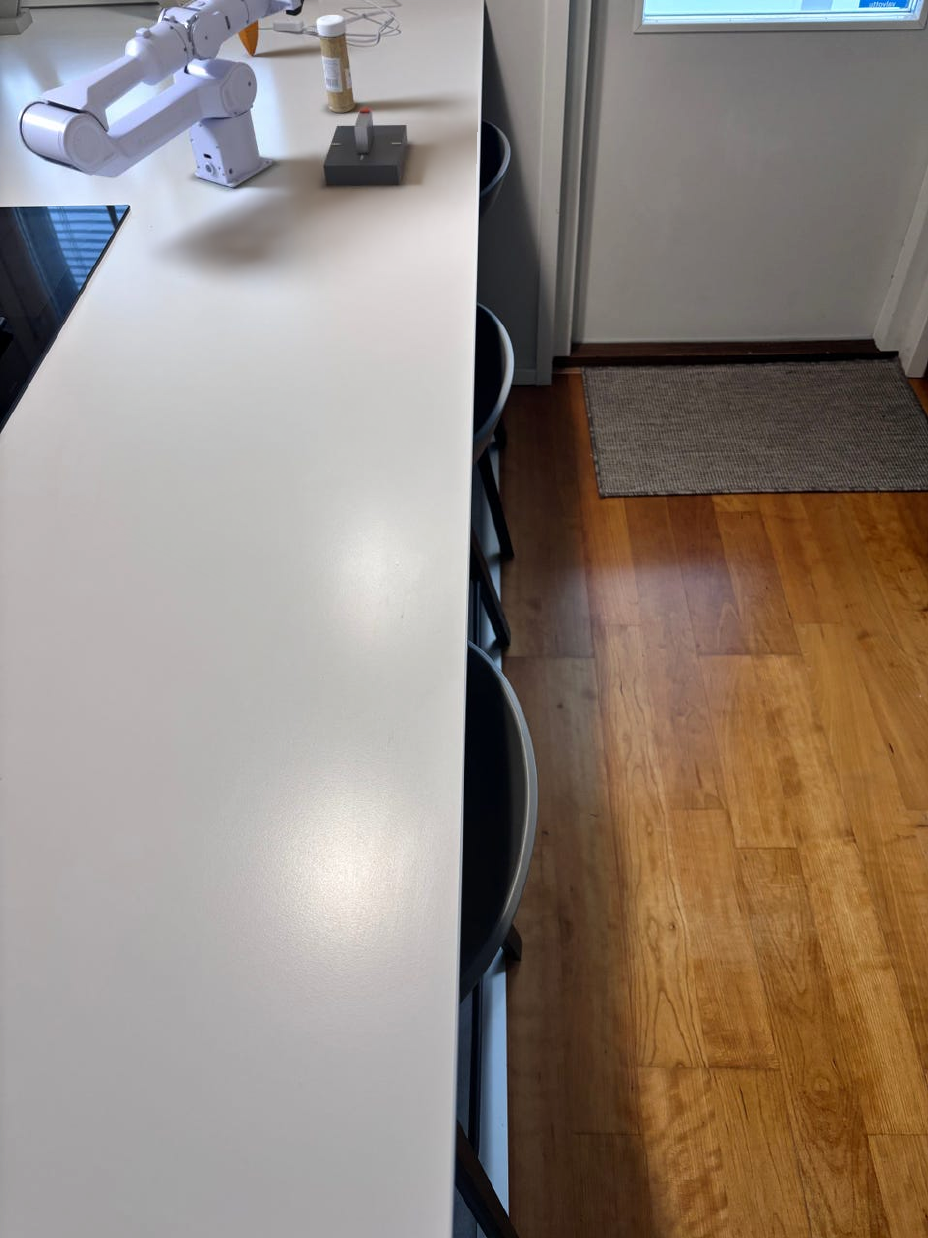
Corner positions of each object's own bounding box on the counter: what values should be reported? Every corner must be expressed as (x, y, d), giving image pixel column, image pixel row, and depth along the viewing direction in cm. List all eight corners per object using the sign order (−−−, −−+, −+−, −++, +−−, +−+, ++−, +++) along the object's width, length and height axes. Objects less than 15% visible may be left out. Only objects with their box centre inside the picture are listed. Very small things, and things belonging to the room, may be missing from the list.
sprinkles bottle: (360, 107, 161) (350, 17, 151) (339, 115, 159) (328, 25, 149) (343, 100, 163) (332, 11, 153) (322, 108, 161) (310, 18, 151)
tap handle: (369, 153, 142) (366, 125, 139) (357, 153, 142) (353, 125, 139) (374, 134, 146) (371, 107, 143) (362, 134, 147) (359, 107, 143)
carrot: (263, 60, 177) (246, -35, 165) (237, 61, 177) (218, -34, 165) (267, 50, 180) (250, -44, 168) (241, 51, 180) (223, -43, 169)
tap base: (398, 185, 142) (396, 163, 139) (326, 185, 143) (322, 164, 140) (407, 144, 151) (406, 123, 148) (339, 144, 152) (336, 124, 149)
